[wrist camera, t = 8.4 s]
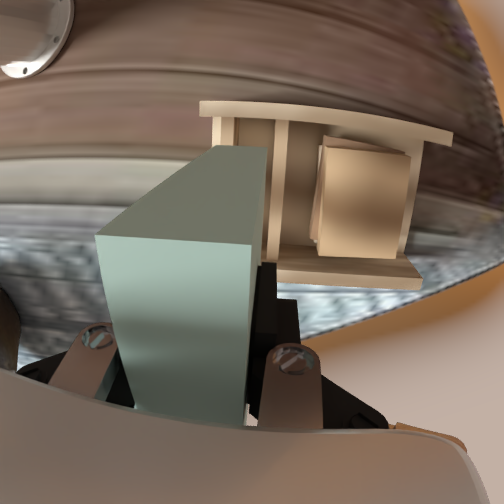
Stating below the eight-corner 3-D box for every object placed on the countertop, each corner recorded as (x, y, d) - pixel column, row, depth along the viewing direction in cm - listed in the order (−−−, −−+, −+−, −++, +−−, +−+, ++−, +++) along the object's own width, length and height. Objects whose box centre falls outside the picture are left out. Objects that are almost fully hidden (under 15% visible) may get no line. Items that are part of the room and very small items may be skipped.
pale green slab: (216, 144, 16) (94, 235, 5) (267, 147, 16) (251, 245, 5) (215, 296, 20) (164, 478, 9) (257, 299, 19) (239, 489, 9)
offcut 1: (323, 134, 26) (326, 136, 24) (398, 149, 25) (405, 152, 24) (308, 232, 29) (309, 239, 28) (378, 242, 29) (383, 248, 28)
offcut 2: (324, 145, 24) (327, 147, 23) (404, 154, 24) (411, 157, 23) (316, 248, 28) (318, 255, 27) (389, 251, 28) (395, 258, 26)
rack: (216, 103, 28) (200, 101, 22) (419, 126, 27) (453, 132, 21) (213, 243, 34) (199, 276, 28) (396, 257, 33) (419, 290, 27)
